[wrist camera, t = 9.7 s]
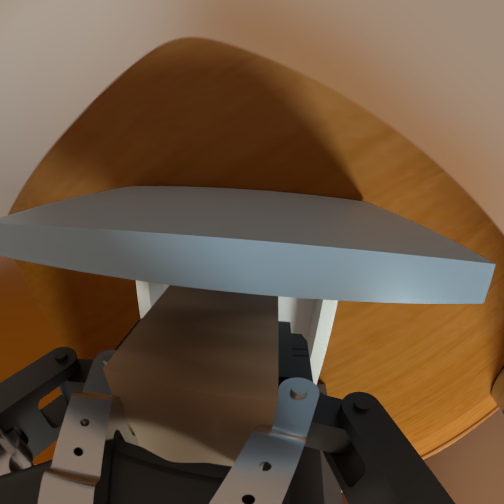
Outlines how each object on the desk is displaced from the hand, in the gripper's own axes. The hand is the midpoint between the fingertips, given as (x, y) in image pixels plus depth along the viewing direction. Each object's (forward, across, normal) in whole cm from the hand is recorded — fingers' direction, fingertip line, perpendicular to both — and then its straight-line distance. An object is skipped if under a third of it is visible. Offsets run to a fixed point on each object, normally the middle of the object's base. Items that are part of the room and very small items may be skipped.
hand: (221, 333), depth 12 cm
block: (+2, 0, 0) cm, 2 cm away
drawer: (+5, 0, 0) cm, 5 cm away
